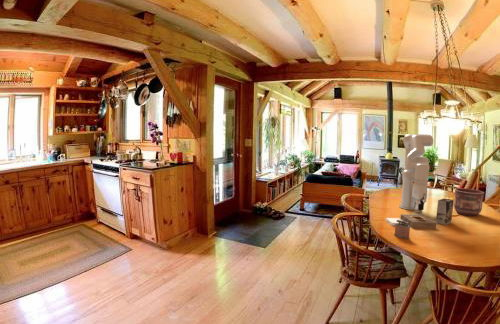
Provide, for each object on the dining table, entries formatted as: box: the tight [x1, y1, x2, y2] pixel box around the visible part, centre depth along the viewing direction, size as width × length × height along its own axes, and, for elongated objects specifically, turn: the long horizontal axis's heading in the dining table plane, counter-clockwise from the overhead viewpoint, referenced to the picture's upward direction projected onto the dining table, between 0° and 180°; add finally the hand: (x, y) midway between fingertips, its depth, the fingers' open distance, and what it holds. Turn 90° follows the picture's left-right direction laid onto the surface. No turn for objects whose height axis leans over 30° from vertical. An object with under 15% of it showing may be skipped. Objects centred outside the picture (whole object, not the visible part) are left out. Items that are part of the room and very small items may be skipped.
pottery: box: [453, 188, 485, 217], centre depth 207 cm, size 18×18×18 cm
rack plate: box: [399, 213, 438, 229], centre depth 184 cm, size 16×15×4 cm
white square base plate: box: [385, 217, 402, 227], centre depth 186 cm, size 10×9×2 cm
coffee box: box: [435, 198, 455, 226], centre depth 186 cm, size 9×6×16 cm
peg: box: [414, 199, 423, 215], centre depth 183 cm, size 4×4×10 cm
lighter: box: [394, 220, 411, 240], centre depth 162 cm, size 8×3×10 cm, turn 44°
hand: (418, 208), depth 183 cm, fingers closed on peg, 4 cm apart
